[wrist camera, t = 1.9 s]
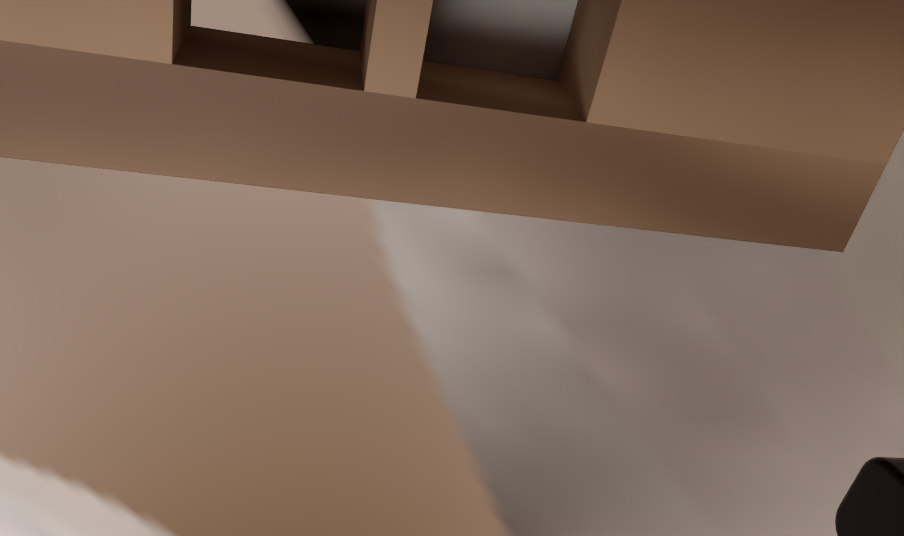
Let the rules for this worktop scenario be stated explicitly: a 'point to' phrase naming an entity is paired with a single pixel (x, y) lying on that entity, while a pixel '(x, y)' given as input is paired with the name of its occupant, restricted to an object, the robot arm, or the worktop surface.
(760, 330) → the worktop surface
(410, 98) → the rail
